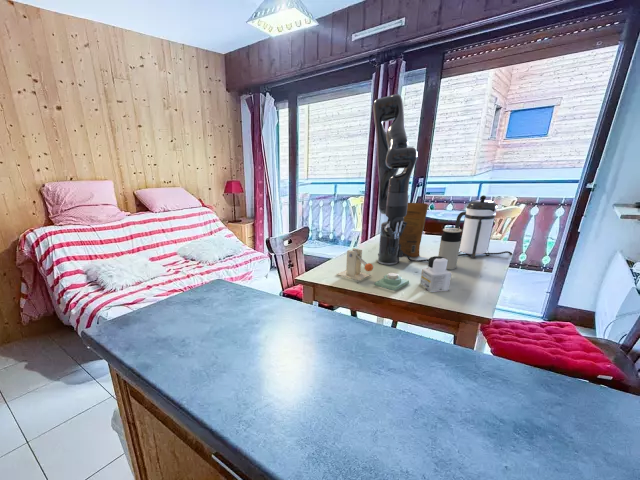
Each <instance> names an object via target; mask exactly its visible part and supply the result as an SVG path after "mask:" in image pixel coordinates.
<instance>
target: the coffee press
mask: <svg viewBox="0 0 640 480" xmlns="http://www.w3.org/2000/svg"><path fill="white" fill-rule="evenodd" d="M479 198H480V199H478V200H472V201H469V202H468V203H467V205H466V206H465V208H466V211H462V212H460V213H458V215H457V217H456V219H455V226H454V228H457V229H460V226H461V219H462V218H463V216H464V219H463V225H462V228H461V230H462V231H461V234H460V235H461V242H460V248H459V253H458V255H459V254H461V253H462V254H472V255H471V257H470V258H471V259H476V256H477V255H479V254H480V255H485V256H487V257H489V256H491V254H485V253H490V252H489V247H490V241H491V236H492V232H493V228H494V222H495V218H496V215H497V209H498V206H497V203H496V202H495V201H492V200H486V199H487V196H486V195H484V194H483V195H481V196H480V197H479ZM480 255H479V256H480Z"/></svg>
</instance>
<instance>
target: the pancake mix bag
mask: <svg viewBox="0 0 640 480" xmlns="http://www.w3.org/2000/svg"><path fill="white" fill-rule="evenodd" d="M428 208H429V204H428V203H424V202H408V206H407V215H406V216H405V217H403V218H404V222H407V225H406V227H405V229H404V231H403V233H402V235H401V236H400V242H399V244H401V249H400V250H402V251H403V253H405V254H407V255H408V256H409V258H418V257H420V256H421V255H420V249H421V242H422V238H423V232H424V229H425V225H426V218H427V214H428ZM404 256H405V255H403V257H404ZM405 257H406V256H405Z"/></svg>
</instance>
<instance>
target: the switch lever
mask: <svg viewBox="0 0 640 480" xmlns="http://www.w3.org/2000/svg"><path fill="white" fill-rule="evenodd" d="M352 251H355V252H357V251H356V250H353V249H352ZM358 255H359V253H358V252H357V256H356V258H357V259H358V260H359V261H360V262H361V265H362V266H364V270H365V271H366V272H372V271H373V269H374V265H373V264H372V263H370V262H368V263H367V261H365V260H364V259H363V257H362V258H361V257H359V256H358Z"/></svg>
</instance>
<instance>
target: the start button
mask: <svg viewBox="0 0 640 480" xmlns="http://www.w3.org/2000/svg"><path fill="white" fill-rule="evenodd" d="M387 275H388V276H387V278H388V279H398V276H399V274H398V273H396V272H388V273H387Z"/></svg>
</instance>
